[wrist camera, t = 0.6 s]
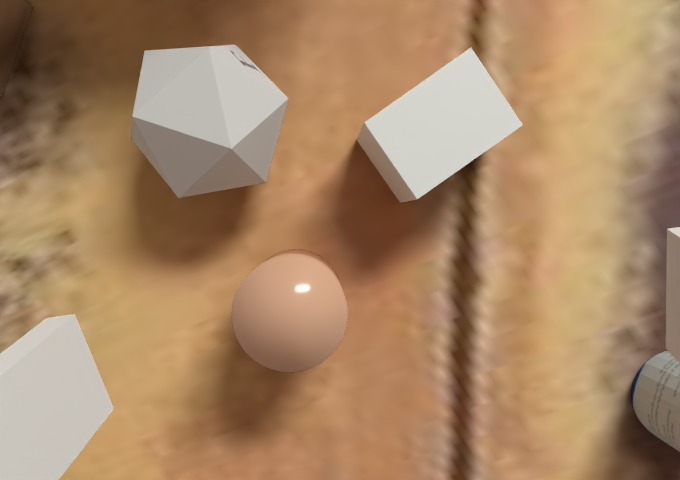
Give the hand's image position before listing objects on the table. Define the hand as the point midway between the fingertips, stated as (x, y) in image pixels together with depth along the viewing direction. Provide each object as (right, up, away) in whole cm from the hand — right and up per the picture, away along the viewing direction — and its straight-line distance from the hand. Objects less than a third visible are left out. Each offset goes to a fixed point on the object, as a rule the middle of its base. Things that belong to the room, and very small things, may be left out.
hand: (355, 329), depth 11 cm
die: (-8, +9, +22) cm, 25 cm away
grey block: (+5, +8, +22) cm, 24 cm away
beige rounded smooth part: (-3, -2, +22) cm, 22 cm away
